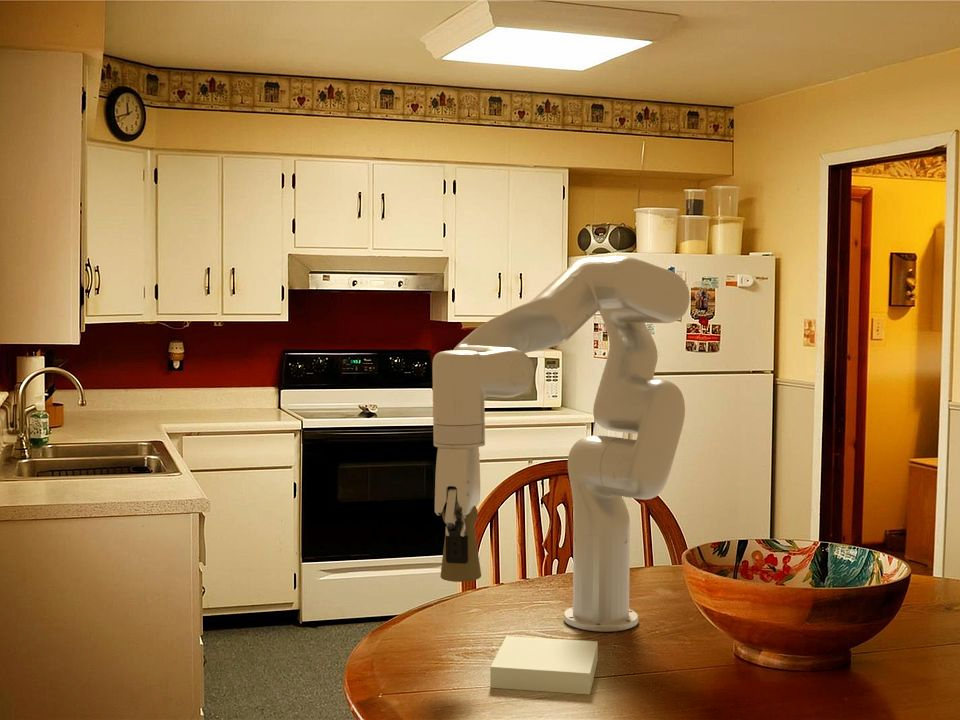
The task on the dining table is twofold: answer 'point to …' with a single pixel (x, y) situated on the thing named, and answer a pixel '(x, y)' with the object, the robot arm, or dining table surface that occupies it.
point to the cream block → (545, 665)
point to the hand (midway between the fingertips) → (460, 557)
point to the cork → (472, 567)
